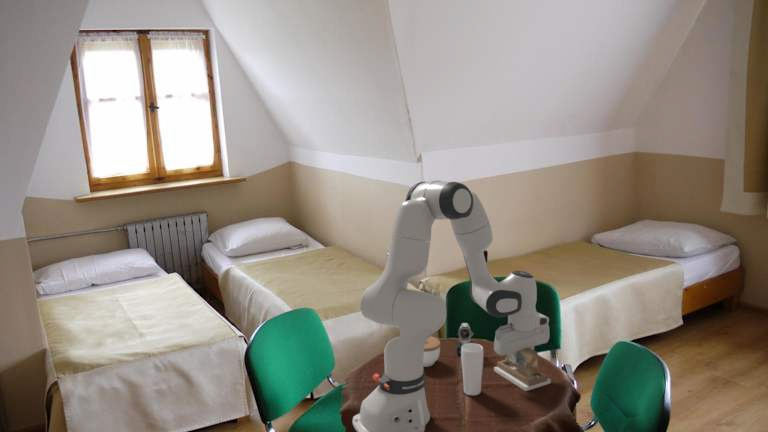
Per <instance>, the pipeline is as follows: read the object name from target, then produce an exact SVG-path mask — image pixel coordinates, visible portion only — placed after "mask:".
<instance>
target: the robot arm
mask: <svg viewBox="0 0 768 432" xmlns="http://www.w3.org/2000/svg"><path fill="white" fill-rule="evenodd" d="M436 220H449V221H450V224H451V227H452V231H453V234H454V236H455V239H456V241H457V243H458V246H459V248H460V250H461V252H462V256H463V258H464V262H465V265H466V269H467V272H468V276H469V296H470V299H471V300H472V302H473V303H475V304H477V305H479V307H480V308H482V309H483V311H485V312H486V313H488V314H489V315H491V316H492V317H495V318H504V317H507V324H505V325H500V326H499V328H497V329H496V330H495V337H494V341H493V350H494V352H495V354H497V355H499V356H501V357H502V356H507V354H510V355H511V357H512V362H513V363H514V364H516V363H519V358H518V357H516V355H515V354H517V351H520V350H523V349H527V348H531V349H533V350H534V351H535V347H536V346H541V345H543V344H547V343H548V342H549V339H550V325H549V322H550V318H549V317H548V316H546V315H544V314H542V313H540V312H538V311H537V309H536V304H537V296H538V294H537V293H538V291H537V282H536V278H535V277H534V276H533V275H532V274H531V273H528V272H526V271H522V270H513V271H511V272H510V273H509V275H508V276H507V277H505V278H504V279H503V280H501V281H499V282H498V280H497V279H495V278H494V277H493V276H492V274H491V273H490V271H489V269H488V265H487V262H486V257H485V253H484V252H485V251H486V250H487V249H488V248H490V246H491V244H492V242H493V240H494V239H493V238H494V237H493V230H492V226H491V223H490V220H489V217H488V215H487V212H486V209H485V207H484V205H483V204H482V202H481V199H479V197H478V195H477V194H476V193H475V192H474V191H472V190H470V188H469V187H468V186H467V185H465V184H463V183H461V182H458V181H446V180H445V181H443V180H431V181H420V182H417V183H415V184H414V185H412V186H411V187H410V188H409V190H408V191H407V194H406V198H405V201H402V202H401V203H400V204H399V206H398V208H397V210H396V214H395V217H394V220H393V225H392V226H393V227H392V231H391V238H390V244H389V251H388V257H387V261H386V265H385V267H384V269H383V271H382V273H381V274H380V276H379V277H378V279H377V280H376V281H375V282H374V283H372V284H371V285H370V286H368V287H367V288H366V289H365V290H364V291H363V293H362V295H361V296H360V301H359V308H360V312H361V314H362V316H363V318H366V319H367V320H370V321H372V322H374V323H376V324H379V325H383V326H389V327H394V328H398V329H399V334H400V335H399V336H396V337H394V338H392V339H390V340H389V341H388V342H387V343H386V344H385V346H384V350H383V359H384V363H383V364H384V371H383V373H382V375H381V376H380V374H379V373H374V374H373V375H372V380H373V381H374V382H376V383H379V385H378V386H376V388H375V389H373V391H371V393H370V394H368V396H366V398H364V399H363V400H362V402H361V405H360V411H359V413H357V414H356V415H354V416H353V417H352V425H353V428H354V430H355V431H356V432H425V430H426V426H427V424H428V423H429V421H430V420H431V415H430V410H429V408H428V405H427V404H428V403H427V400H426V398H427V397H426V392H425V387H426V371H425V370H424V367H423V356H424V347H425V343H426V341H427V339H428V338H429V337H430V336H431V337H432V335H434V334H435V333H436V332H437V331H439V330H440V329H441V328H442V327H443V325H444V324H445V321H446V318H447V307H446V304H445V302H444V300H443V299H442V298H441V297H439V296H437V295H434V294H432V293H429V292H426V291H420V290H416V289H415V290H414V289H410V288H409V289H408V286H409V283H410V281H411V279H412V278H414V277H416V276H419V275H421V274H423V273H424V272H425V270H426V269H427V268H428V266H429V265H428V264H429V257H430V248H431V242H432V241H431V240H432V228H433V227H432V226H433V224H434V222H435V221H436Z"/></svg>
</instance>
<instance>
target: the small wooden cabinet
mask: <svg viewBox="0 0 768 432" xmlns="http://www.w3.org/2000/svg"><path fill="white" fill-rule="evenodd" d="M493 372H496V373H497V374H499V376H501V377H503V378H504V379H506V380H508V381H509V382H510V383H512V384H514V385H515V386H517V387H519V388H520V389H521V390H523V391H525V392H527V391H531V390H534V389H537V388H540V387H543V386H546V385H550V384H551V383H552V381H551V379H550V378H549V375H547V374H545V373H543V372H542V371H540V370H539V369H537V373H535V374H532V375H527V374H526V373H524V372H522V371H521V370H519V369H517V368H516V367H514V366H512V365H511V364H509V363H508V362H507V356H506V357H505V359H504V360H499V361H496V366H494V367H493Z"/></svg>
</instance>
